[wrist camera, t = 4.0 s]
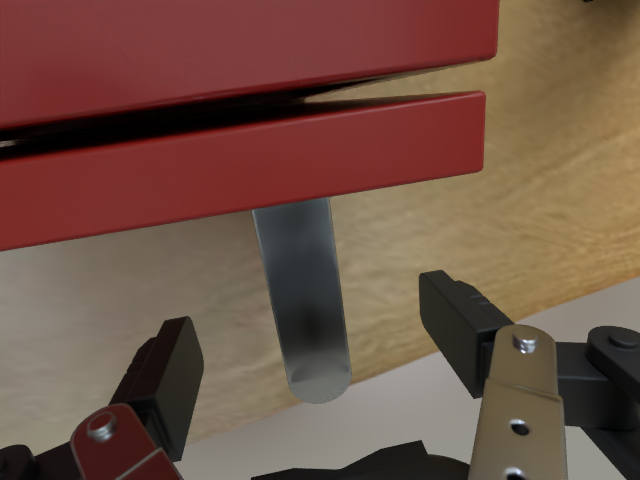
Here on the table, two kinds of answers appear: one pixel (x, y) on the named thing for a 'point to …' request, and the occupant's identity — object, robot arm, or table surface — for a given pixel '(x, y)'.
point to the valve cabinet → (216, 54)
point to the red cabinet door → (249, 194)
